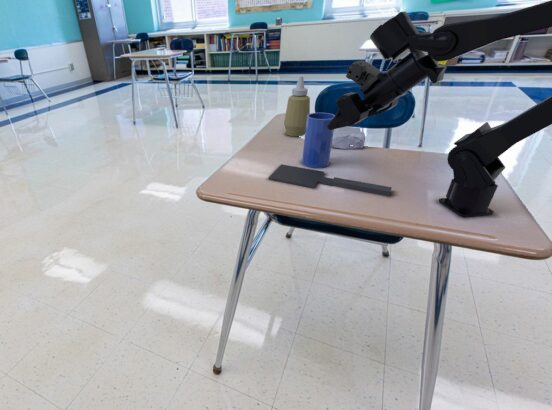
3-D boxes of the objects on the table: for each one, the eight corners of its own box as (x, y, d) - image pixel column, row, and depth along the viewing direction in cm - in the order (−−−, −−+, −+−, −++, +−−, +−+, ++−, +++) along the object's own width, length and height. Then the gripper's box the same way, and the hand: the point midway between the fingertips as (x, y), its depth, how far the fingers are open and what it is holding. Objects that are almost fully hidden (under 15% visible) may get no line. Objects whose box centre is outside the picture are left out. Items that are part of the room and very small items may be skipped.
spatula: (392, 185, 74) (393, 181, 73) (387, 203, 67) (388, 198, 67) (281, 166, 86) (281, 162, 86) (268, 179, 80) (268, 175, 79)
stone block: (330, 154, 96) (367, 148, 93) (328, 138, 94) (366, 132, 91) (325, 142, 107) (359, 137, 104) (324, 127, 105) (358, 122, 102)
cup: (332, 166, 84) (340, 118, 78) (307, 169, 84) (313, 120, 78) (322, 157, 90) (328, 111, 84) (298, 159, 90) (303, 113, 84)
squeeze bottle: (311, 132, 109) (318, 75, 101) (303, 139, 104) (310, 79, 95) (288, 129, 113) (292, 74, 104) (279, 136, 108) (283, 78, 99)
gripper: (397, 43, 71) (341, 90, 84) (353, 51, 61) (297, 103, 74) (426, 84, 70) (365, 126, 83) (387, 100, 60) (324, 144, 73)
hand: (339, 123), depth 78 cm, fingers open, 9 cm apart
